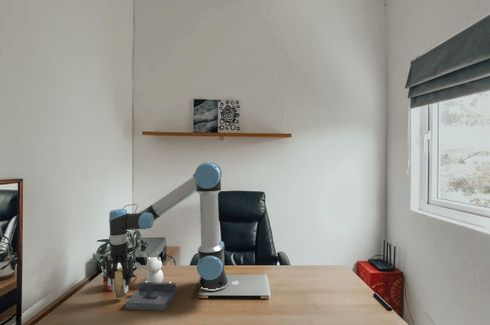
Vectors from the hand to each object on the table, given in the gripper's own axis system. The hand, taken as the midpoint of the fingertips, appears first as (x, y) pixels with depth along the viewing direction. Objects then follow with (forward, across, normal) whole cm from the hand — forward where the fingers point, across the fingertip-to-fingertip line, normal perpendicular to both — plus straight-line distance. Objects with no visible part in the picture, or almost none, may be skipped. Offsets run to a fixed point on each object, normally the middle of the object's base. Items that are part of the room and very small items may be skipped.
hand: (120, 291), depth 127 cm
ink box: (+4, +10, -13) cm, 17 cm away
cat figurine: (+5, -8, -19) cm, 21 cm away
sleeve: (+2, 0, 0) cm, 2 cm away
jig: (+4, -15, 0) cm, 16 cm away
